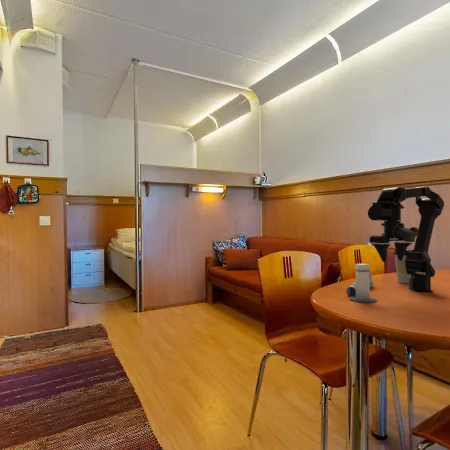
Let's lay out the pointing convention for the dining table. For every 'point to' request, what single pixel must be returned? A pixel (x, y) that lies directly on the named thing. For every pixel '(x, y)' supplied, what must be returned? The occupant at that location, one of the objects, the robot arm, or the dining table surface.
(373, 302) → the pad
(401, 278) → the coffee cup
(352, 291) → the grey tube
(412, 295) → the dining table surface
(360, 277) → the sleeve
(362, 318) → the dining table surface
